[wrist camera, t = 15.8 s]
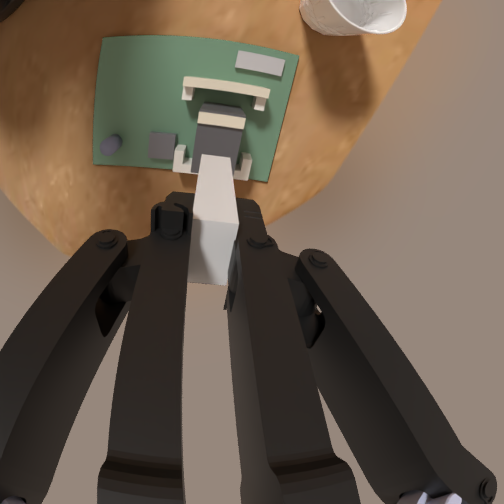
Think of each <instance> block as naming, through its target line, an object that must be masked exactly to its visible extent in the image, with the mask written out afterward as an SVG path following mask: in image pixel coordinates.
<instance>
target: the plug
mask: <svg viewBox="0 0 504 504" xmlns="http://www.w3.org/2000/svg"><path fill="white" fill-rule="evenodd" d="M245 120H246V115H245V113H244V112H243V110H242V108H241V107H240V106H234V105H227V104H220V103H213V102H205V101H204V103H203V105H202V106H201V108H200V111H199V116H198V122H197V129H196V136H195V143H194V150H193V157H192V164H191V173H199V168H200V162H201V156H202V154H205V155H213V156H221V157H228V158H230V160H231V168H232V175H233V176H234V171H235V166H236V161H237V156H238V151H239V147H240V142H241V137H242V132H243V129H244V125H245Z"/></svg>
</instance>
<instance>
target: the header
mask: <svg viewBox="0 0 504 504" xmlns="http://www.w3.org/2000/svg"><path fill="white" fill-rule="evenodd" d="M183 86H184V87H183V93H182V100H192V99H193V98H194V93H195V88H196V87H197V88H206V89H214V90H222V91H229V92H235V93H241V94H247V95H253V96H254V97H253V102H252V106H251V107H252V108H253V109H255V110H260V111H264V107H265V103H266V99H267V98H269V94H270V89H268V88H265V87H260V86H255V85H250V84H244V83H238V82H232V81H225V80H218V79H210V78H202V77H192V76H185V77H184V80H183ZM185 153H186V145H180V144H178V145H177V147H176V149H175V152H174V162H173V172H180V173H190V174H199V173H191V164H192V158H187V157H185ZM251 164H252V158H251V155H250V154H249V153H243V152H242V153H241V158H240V162H239V164H236V166H235V171H234V176H233V179H238V180H245V181H248V177H249V173H250V168H251Z"/></svg>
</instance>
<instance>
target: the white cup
mask: <svg viewBox="0 0 504 504" xmlns="http://www.w3.org/2000/svg"><path fill="white" fill-rule="evenodd" d="M299 10H300V13H301V15H302V18H303V20H304V21H305V22H306V23H307V24H308V25H309V26H310V28H311V29H313V30H315V31H317V32H319V33H321V34H323V35H330V36H350V35H370V34H387V33H391V32H393V31H395V30H397V29H398V28H399V27H400V26H401V25H402V24H403V22H404V20H405V17H406V12H407V7H406V1H405V0H301V1H300V6H299Z"/></svg>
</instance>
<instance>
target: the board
mask: <svg viewBox="0 0 504 504" xmlns="http://www.w3.org/2000/svg"><path fill="white" fill-rule="evenodd" d="M298 59H299V56H298V55H294V54H290V53H286V52H282V51H278V50H274V49H270V48H265V47H260V46H255V45H250V44H245V43H239V42H233V41H226V40H218V39H210V38H200V37H188V36H167V35H137V36H117V37H105V38H103V40H102V46H101V52H100V58H99V65H98V73H97V81H96V91H95V103H94V121H93V164H97V165H119V166H135V167H149V168H161V169H172V170H173V162H174V152H175V149H176V147H177V145H178V144H180V145H186V153H185V157H187V158H192V157H193V150H194V143H195V136H196V129H197V122H198V116H199V111H200V108H201V106H202V105H203V103H204V101H205V102H213V103H220V104H227V105H234V106H240V107H241V108H242V110H243V112H244V113H245V115H246V120H245V125H244V129H243V132H242V137H241V142H240V147H239V151H238V156H237V161H236V164H239V162H240V158H241V153H242V152H243V153H249V154H250V155H251V158H252V164H251V168H250V173H249V177H248V179H253V180H259V181H265V182H267V181H268V177H269V173H270V169H271V165H272V161H273V157H274V153H275V149H276V145H277V141H278V137H279V133H280V129H281V125H282V121H283V117H284V113H285V110H286V106H287V102H288V98H289V94H290V90H291V86H292V82H293V78H294V74H295V70H296V66H297V62H298ZM185 76H192V77H202V78H210V79H218V80H225V81H232V82H238V83H244V84H250V85H255V86H260V87H265V88H268V89H270V94H269V98H267V99H266V103H265V107H264V111H260V110H255V109H253V108H252V107H251V106H252V102H253V97H254V96H253V95H247V94H241V93H235V92H229V91H222V90H214V89H206V88H197V87H196V88H195V93H194V98H193V99H192V100H182V93H183V87H184V86H183V80H184V77H185Z"/></svg>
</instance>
